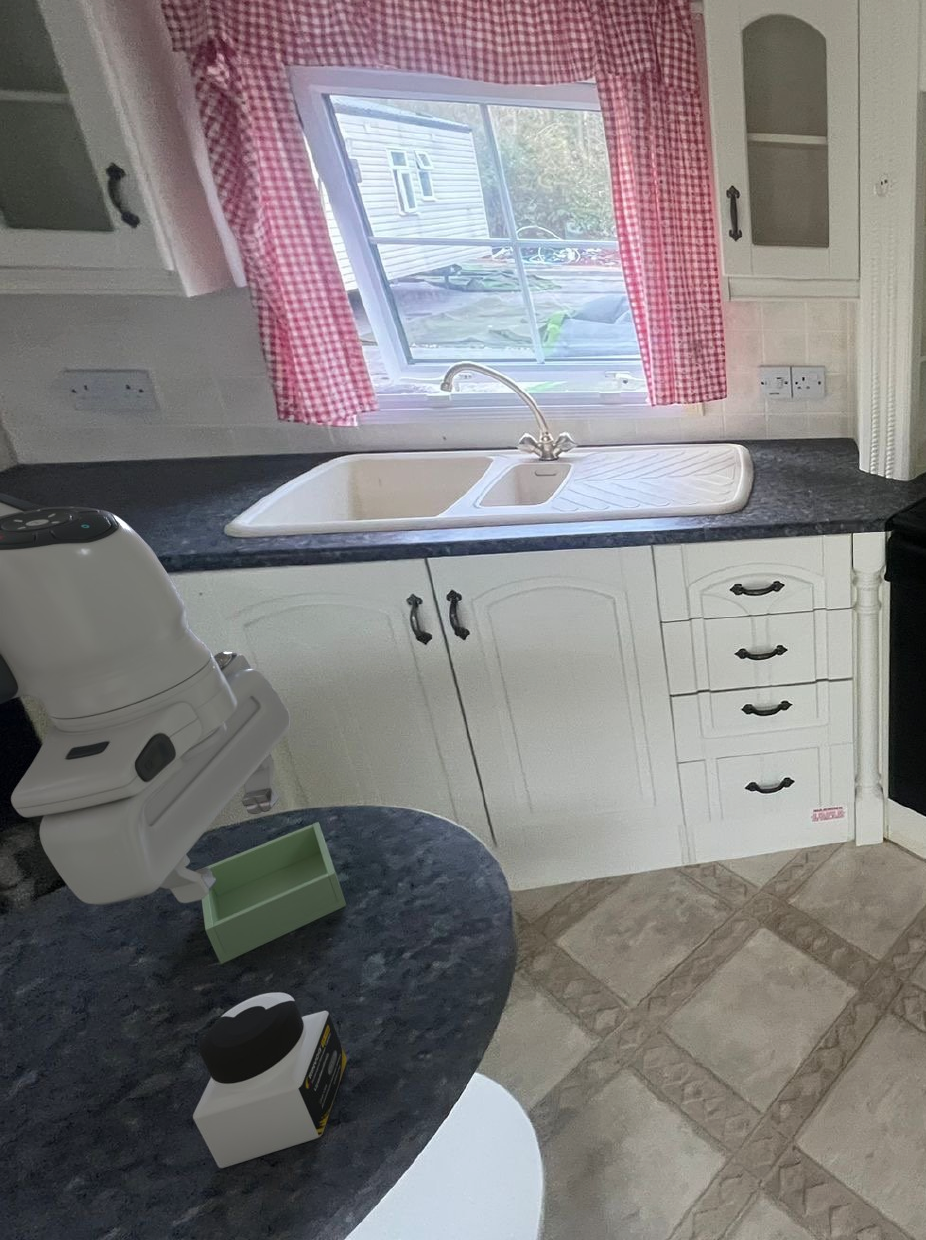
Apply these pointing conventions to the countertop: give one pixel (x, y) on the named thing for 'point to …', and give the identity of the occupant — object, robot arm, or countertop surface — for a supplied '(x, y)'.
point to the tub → (270, 892)
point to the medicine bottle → (267, 1078)
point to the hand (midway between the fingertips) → (235, 847)
